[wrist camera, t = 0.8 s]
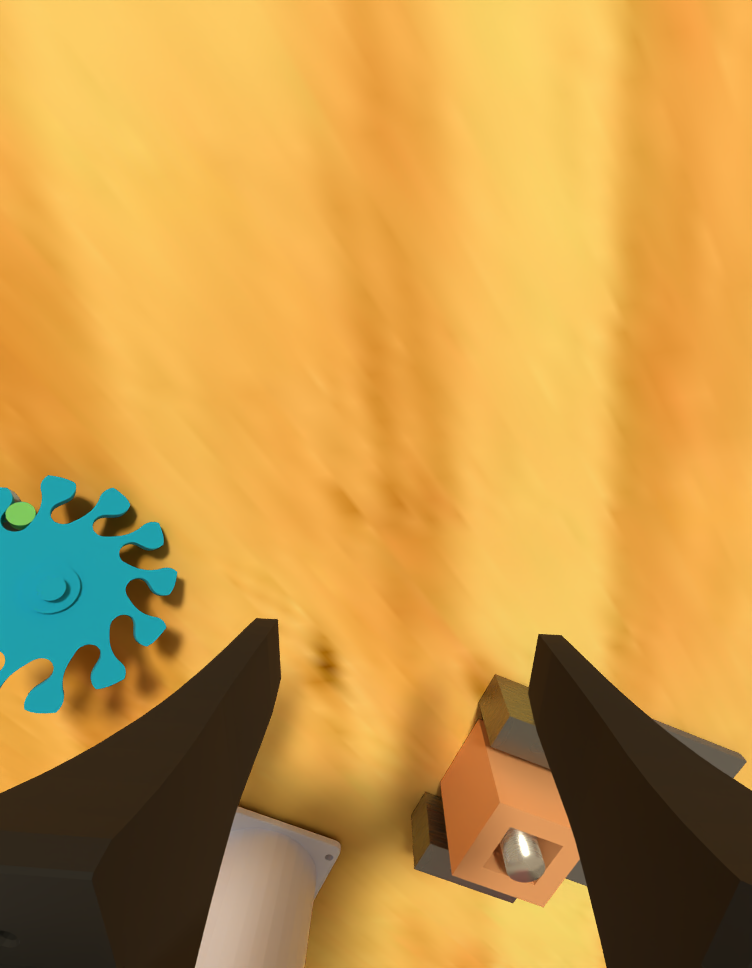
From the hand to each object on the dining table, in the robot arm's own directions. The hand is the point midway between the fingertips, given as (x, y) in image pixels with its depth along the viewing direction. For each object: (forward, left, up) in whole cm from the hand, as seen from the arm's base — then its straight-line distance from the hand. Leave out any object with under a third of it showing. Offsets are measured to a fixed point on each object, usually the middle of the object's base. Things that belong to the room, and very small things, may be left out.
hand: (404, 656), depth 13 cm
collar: (-11, -11, -10) cm, 19 cm away
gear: (-7, +14, -11) cm, 19 cm away
